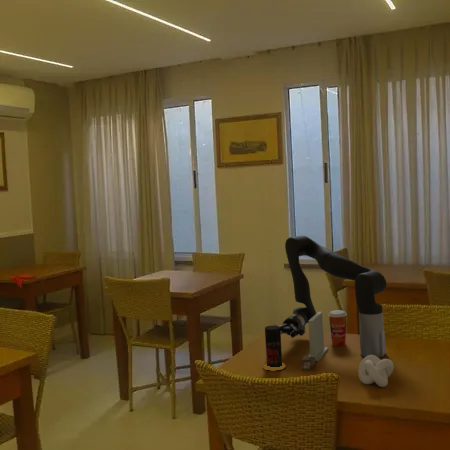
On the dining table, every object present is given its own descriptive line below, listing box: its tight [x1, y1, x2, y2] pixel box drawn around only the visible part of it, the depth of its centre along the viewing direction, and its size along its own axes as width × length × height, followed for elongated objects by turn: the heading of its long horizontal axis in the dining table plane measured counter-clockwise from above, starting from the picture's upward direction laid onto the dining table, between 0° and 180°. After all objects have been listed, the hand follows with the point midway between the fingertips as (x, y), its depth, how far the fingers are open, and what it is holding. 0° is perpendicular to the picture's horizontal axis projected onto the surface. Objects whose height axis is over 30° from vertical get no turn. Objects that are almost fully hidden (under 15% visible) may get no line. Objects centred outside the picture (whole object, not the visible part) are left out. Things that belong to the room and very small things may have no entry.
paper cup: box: [327, 309, 348, 347], centre depth 241 cm, size 8×8×14 cm
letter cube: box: [301, 356, 316, 371], centre depth 213 cm, size 4×4×4 cm
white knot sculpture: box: [357, 355, 395, 388], centre depth 194 cm, size 11×12×9 cm
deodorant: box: [264, 324, 283, 367], centre depth 216 cm, size 6×6×15 cm
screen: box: [306, 311, 329, 362], centre depth 228 cm, size 5×15×16 cm, turn 156°
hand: (281, 334), depth 225 cm, fingers open, 8 cm apart
